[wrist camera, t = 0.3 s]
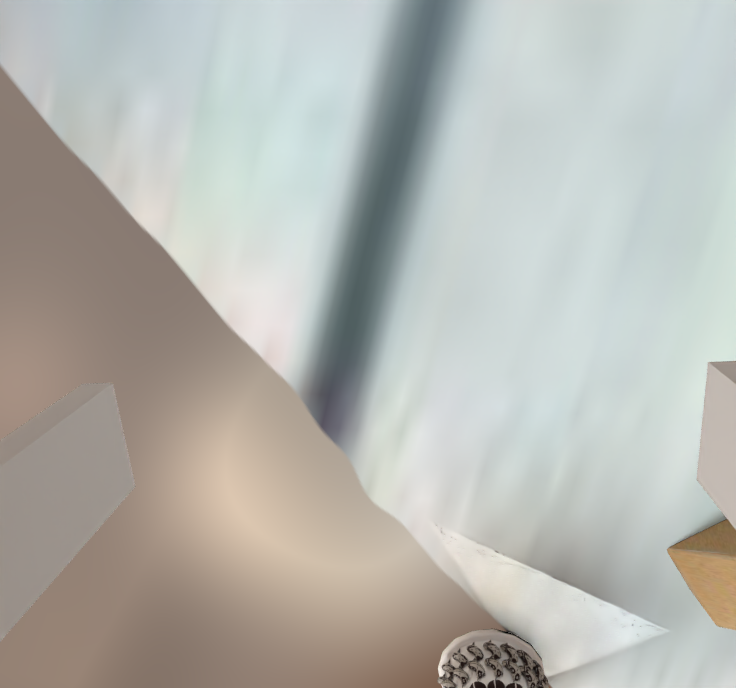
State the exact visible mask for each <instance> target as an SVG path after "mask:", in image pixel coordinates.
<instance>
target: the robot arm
mask: <svg viewBox="0 0 736 688" xmlns="http://www.w3.org/2000/svg"><path fill="white" fill-rule="evenodd" d="M697 481H698V482H699V483H700V485H701V486H702V487H703V488H704V490H705V491H706V492H707V494H708V495H709V496H710V497H711V499H712V500H713V501H714V503H715V504H716V505H717V506H718V508H719V509H720V510H721V512H722V513H723V514H724V515H725V517H726V518H727V519H728V520H729V522H730V523H731V524H732V526H733V527H734V528H735V529H736V361H726V362H708V368H707V379H706V389H705V399H704V409H703V419H702V429H701V439H700V449H699V459H698V469H697ZM134 487H135V483H134V478H133V473H132V469H131V464H130V460H129V455H128V451H127V446H126V442H125V437H124V432H123V428H122V423H121V419H120V414H119V410H118V405H117V401H116V396H115V391H114V387H113V383H96V384H82V385H80V386H78V387H77V388H75V389H74V390H73V391H71V392H70V393H68V394H67V395H65V396H64V397H62V398H61V399H59V400H58V401H56V402H55V403H54V404H52V405H51V406H49V407H48V408H47V409H45V410H43V411H42V412H40V413H39V414H37V415H36V416H35V417H33V418H32V419H30V420H29V421H27V422H26V423H24V424H23V425H21V426H20V427H19V428H17V429H15V430H14V431H13V432H11V433H10V434H8V435H7V436H5V437H4V438H2V439H1V440H0V642H1V640H2V639H3V638H4V637H5V636H6V635H7V633H8V632H9V631H10V630H11V629H12V628H13V626H14V625H15V624H16V623H17V622H18V621H19V620H20V619H21V617H22V616H23V615H24V614H25V613H26V612H27V610H28V609H29V608H30V607H31V606H32V605H33V604H34V602H35V601H36V600H37V599H38V598H39V597H40V596H41V594H42V593H43V592H44V591H45V590H46V589H47V587H48V586H49V585H50V584H51V583H52V582H53V581H54V580H55V578H56V577H57V576H58V575H59V574H60V573H61V571H62V570H63V569H64V568H65V567H66V566H67V565H68V563H69V562H70V561H71V560H72V559H73V558H74V557H75V555H76V554H77V553H78V552H79V551H80V550H81V548H82V547H83V546H84V545H85V544H86V543H87V542H88V540H89V539H90V538H91V537H92V536H93V535H94V533H95V532H96V531H97V530H98V529H99V528H100V527H101V526H102V524H103V523H104V522H105V521H106V520H107V519H108V517H109V516H110V515H111V514H112V513H113V512H114V511H115V509H116V508H117V507H118V506H119V505H120V504H121V503H122V501H123V500H124V499H125V498H126V497H127V496H128V494H129V493H130V492H131V491H132V490H133V489H134Z"/></svg>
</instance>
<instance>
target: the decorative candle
mask: <svg viewBox="0 0 736 688" xmlns="http://www.w3.org/2000/svg"><path fill="white" fill-rule="evenodd" d="M438 671H439V676H440V677H439V678H438V683H439V684H442V687H443V688H548V687H549V685H548V680H547V678H546V676H545V675H544V669H543V663H542V658H541V657H540V656H539V654H538V653H537V651H536V650H535V649H534V647H533V646H532V645H531V644H530V643H529V642H527V641H525V640H524V639H522V638H521V637H519V636H517V635H516V634H514V633H510V632H505V631H501V630H496V629H486V630H475V631H471V632H468V633H466V634H464V635H462V636H460V637H458V638H455V639H454V640H453V641H452V642H451V643H450V644H449V645H448V646H447V648H446V649H445V650H444V651H443V652H442V656H441V660H440V663H439V667H438Z"/></svg>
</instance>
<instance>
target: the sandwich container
mask: <svg viewBox="0 0 736 688" xmlns="http://www.w3.org/2000/svg"><path fill="white" fill-rule="evenodd" d="M667 551H668V554H669V555H670V557H671V559H672V560H673V562H674V563H675V565H676V567H677V568H678V570H679V572H680V573H681V575H682V577H683V578H684V580H685V582H686V583H687V585H688V587H689V588H690V590H691V591H692V593H693V594H694V595H695V597H696V598H697V599H698V601H699V602H700V604H701V605H702V606H703V608H704V609H705V610H706V612H707V613H708V614H709V616H710V617H711V619H712V620H713V621H714V623H715V624H716V625H717V626H719V627H723V628H728V629H732V630H736V529H735V528H734V527H733V526H732V524H731V523H730V522H729V520H728V519H726V520H724V521H722V522H720V523H718V524H716V525H714V526H712V527H710V528H708V529H706V530H704V531H702V532H700V533H698V534H696V535H694V536H692V537H690V538H687V539H685V540H683V541H681V542H679V543H677V544H675V545H673V546H671V547H669V548H668V549H667Z"/></svg>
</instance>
